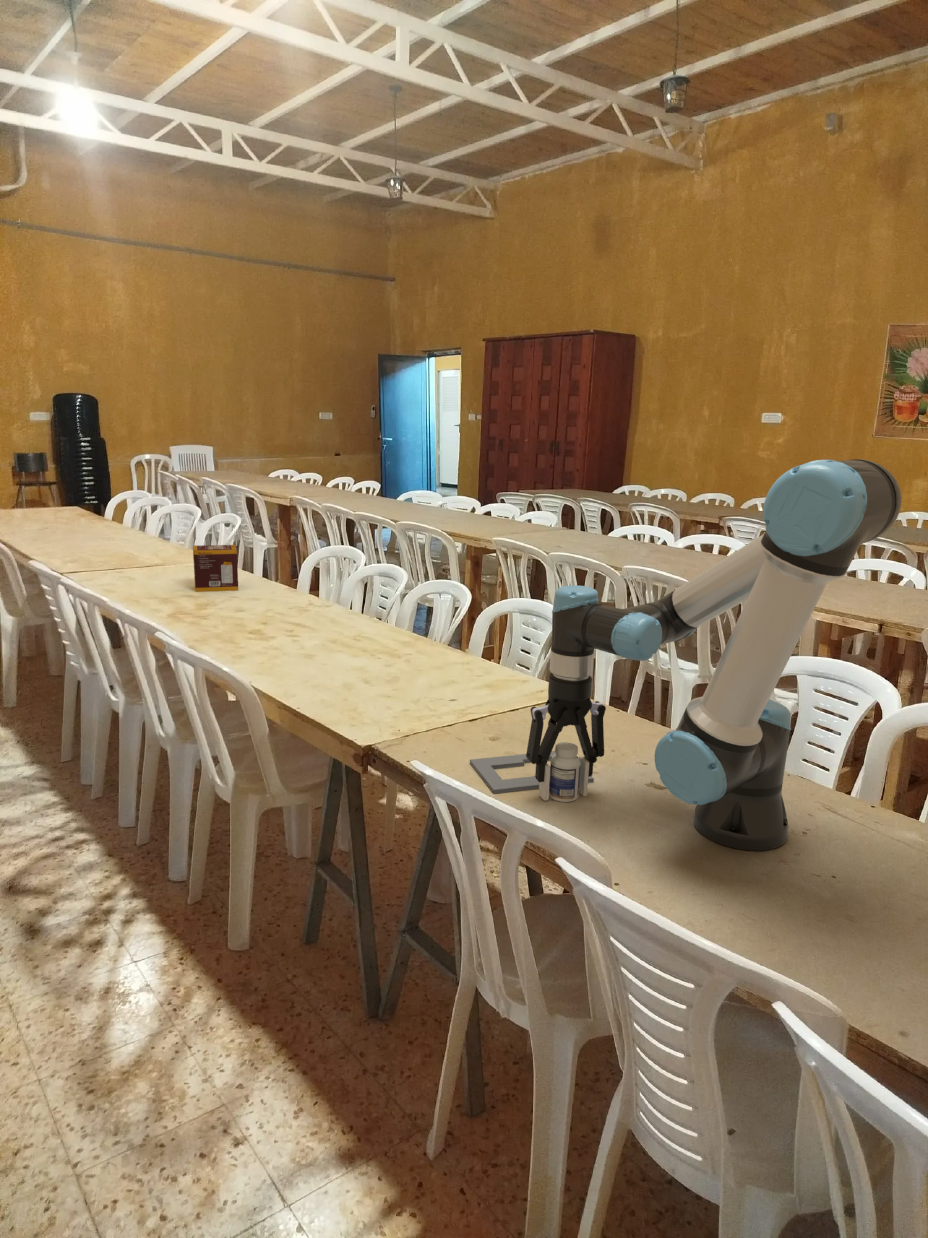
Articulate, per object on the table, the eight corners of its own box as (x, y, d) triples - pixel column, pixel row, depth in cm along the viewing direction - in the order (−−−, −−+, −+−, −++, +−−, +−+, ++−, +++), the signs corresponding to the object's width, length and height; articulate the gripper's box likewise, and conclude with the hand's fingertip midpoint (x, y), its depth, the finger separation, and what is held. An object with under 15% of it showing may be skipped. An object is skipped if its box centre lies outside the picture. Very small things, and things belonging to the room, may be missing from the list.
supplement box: (194, 586, 318) (192, 545, 314) (237, 585, 323) (235, 544, 319) (195, 592, 308) (192, 549, 305) (238, 590, 313) (237, 548, 309)
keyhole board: (595, 782, 160) (595, 778, 160) (493, 793, 154) (493, 789, 154) (564, 753, 173) (565, 749, 173) (469, 763, 167) (469, 759, 167)
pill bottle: (559, 787, 158) (562, 738, 155) (583, 796, 154) (587, 746, 152) (542, 796, 153) (545, 746, 151) (567, 806, 150) (571, 754, 148)
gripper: (611, 664, 155) (602, 780, 160) (510, 671, 149) (504, 791, 154) (631, 677, 148) (621, 797, 153) (525, 684, 142) (519, 810, 147)
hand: (562, 794), depth 154 cm, fingers open, 7 cm apart
